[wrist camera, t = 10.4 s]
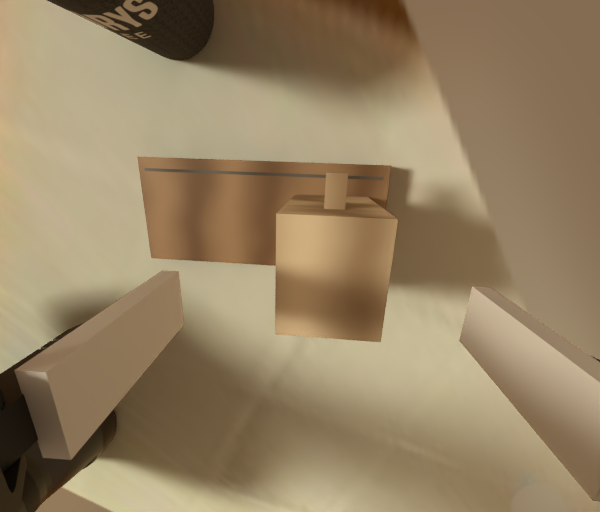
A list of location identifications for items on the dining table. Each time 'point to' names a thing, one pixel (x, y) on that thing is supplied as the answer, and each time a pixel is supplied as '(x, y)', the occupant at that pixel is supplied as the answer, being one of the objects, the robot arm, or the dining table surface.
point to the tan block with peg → (333, 264)
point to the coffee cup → (152, 22)
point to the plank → (234, 203)
